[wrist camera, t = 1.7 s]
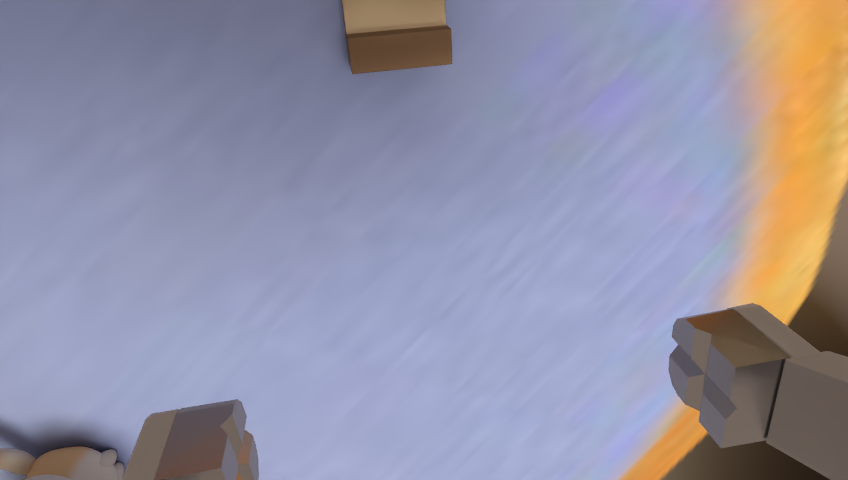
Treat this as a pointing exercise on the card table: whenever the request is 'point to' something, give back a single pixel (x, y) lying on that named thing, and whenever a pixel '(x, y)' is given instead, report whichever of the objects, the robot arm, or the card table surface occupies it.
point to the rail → (396, 34)
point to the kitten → (63, 464)
